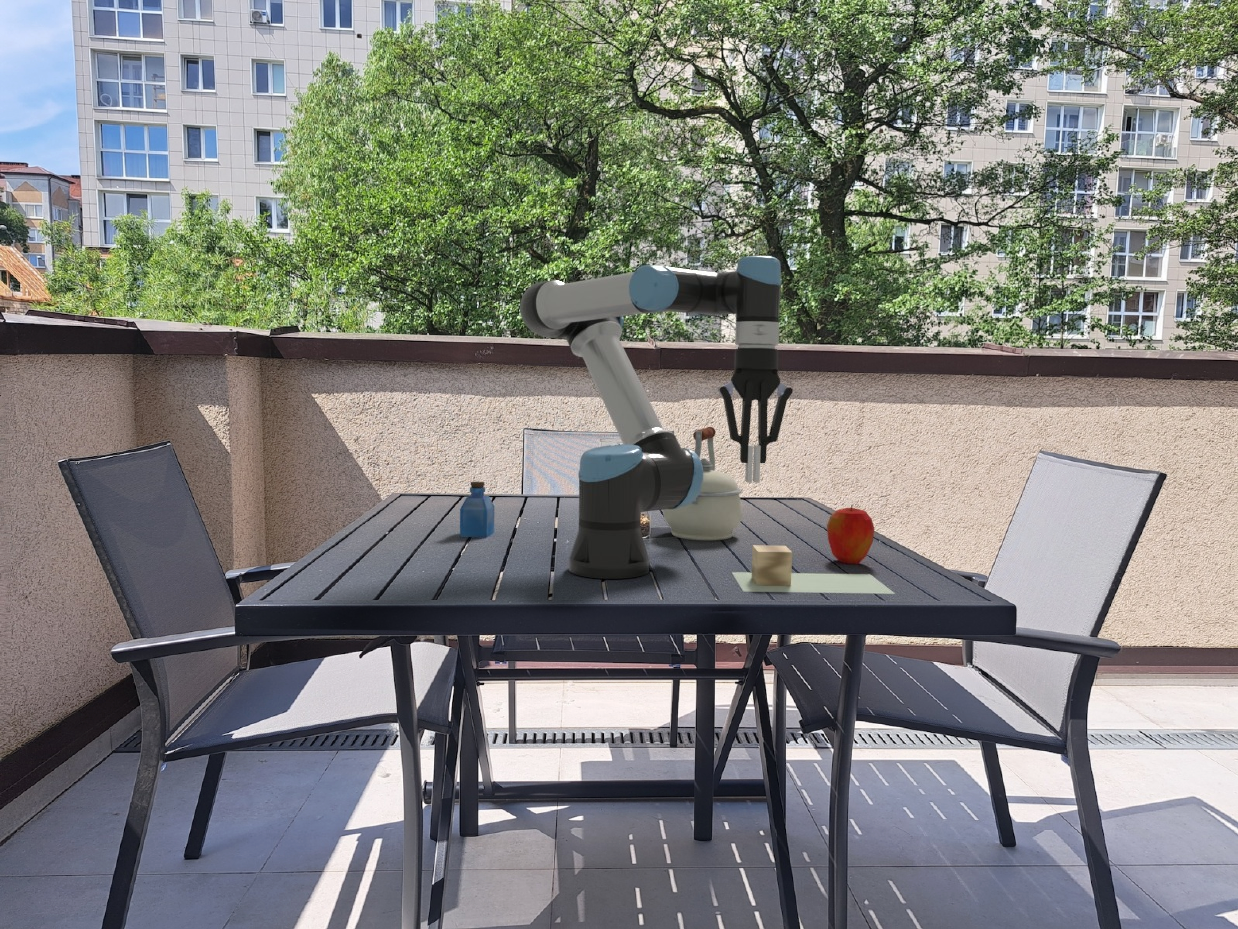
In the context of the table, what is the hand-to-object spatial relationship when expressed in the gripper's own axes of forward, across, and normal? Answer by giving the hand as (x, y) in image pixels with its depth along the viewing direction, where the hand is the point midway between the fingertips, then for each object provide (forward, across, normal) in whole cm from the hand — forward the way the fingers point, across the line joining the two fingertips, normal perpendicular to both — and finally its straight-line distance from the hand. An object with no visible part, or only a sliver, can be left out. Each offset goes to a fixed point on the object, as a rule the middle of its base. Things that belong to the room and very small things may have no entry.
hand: (752, 481), depth 161 cm
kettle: (+19, -3, +50) cm, 53 cm away
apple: (+19, +23, +19) cm, 35 cm away
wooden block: (+18, +4, 0) cm, 18 cm away
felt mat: (+18, +11, 0) cm, 21 cm away
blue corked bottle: (+19, -55, +45) cm, 74 cm away
